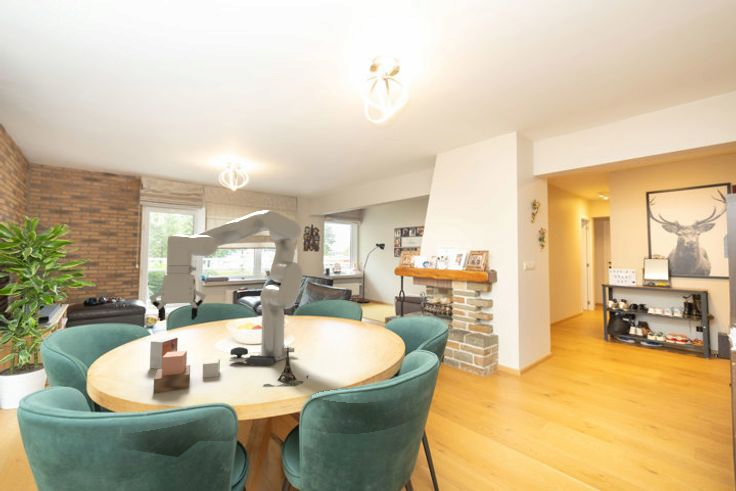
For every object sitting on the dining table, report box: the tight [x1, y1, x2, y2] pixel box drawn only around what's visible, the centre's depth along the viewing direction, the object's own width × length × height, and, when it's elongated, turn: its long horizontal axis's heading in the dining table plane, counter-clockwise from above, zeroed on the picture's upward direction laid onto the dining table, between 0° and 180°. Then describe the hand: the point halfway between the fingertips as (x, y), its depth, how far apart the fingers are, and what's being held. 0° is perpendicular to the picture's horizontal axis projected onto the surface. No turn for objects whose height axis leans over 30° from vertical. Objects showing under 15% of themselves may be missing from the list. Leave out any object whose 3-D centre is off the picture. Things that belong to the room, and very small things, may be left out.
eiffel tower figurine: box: [262, 346, 309, 387], centre depth 116 cm, size 15×10×13 cm
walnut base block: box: [152, 364, 191, 395], centre depth 110 cm, size 10×10×5 cm
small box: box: [149, 336, 179, 370], centre depth 129 cm, size 8×6×10 cm
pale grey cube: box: [202, 358, 221, 378], centre depth 121 cm, size 5×5×5 cm
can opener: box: [228, 346, 277, 367], centre depth 133 cm, size 19×5×6 cm, turn 86°
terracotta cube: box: [162, 350, 188, 375], centre depth 111 cm, size 6×6×6 cm
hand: (178, 319), depth 112 cm, fingers open, 9 cm apart
